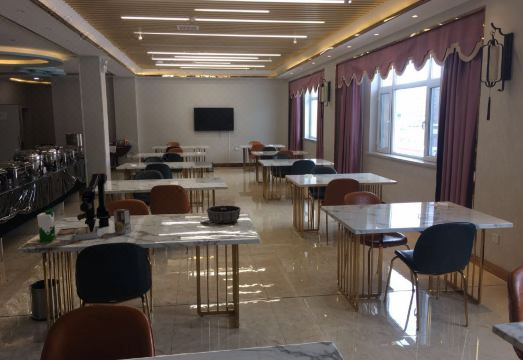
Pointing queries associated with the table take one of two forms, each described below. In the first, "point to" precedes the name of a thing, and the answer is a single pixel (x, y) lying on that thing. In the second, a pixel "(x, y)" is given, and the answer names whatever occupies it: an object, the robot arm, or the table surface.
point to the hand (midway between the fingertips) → (91, 231)
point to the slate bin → (87, 235)
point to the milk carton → (46, 226)
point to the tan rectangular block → (81, 231)
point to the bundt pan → (223, 214)
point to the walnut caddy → (68, 231)
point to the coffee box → (122, 221)
